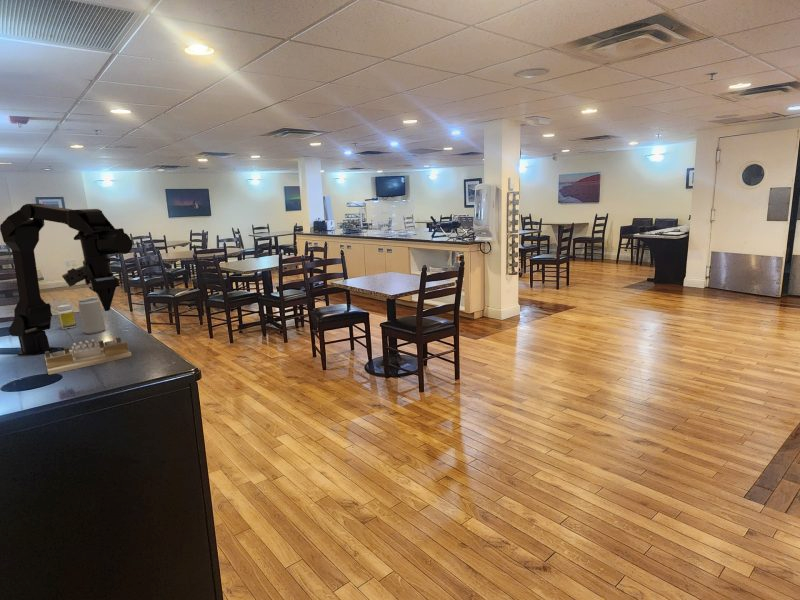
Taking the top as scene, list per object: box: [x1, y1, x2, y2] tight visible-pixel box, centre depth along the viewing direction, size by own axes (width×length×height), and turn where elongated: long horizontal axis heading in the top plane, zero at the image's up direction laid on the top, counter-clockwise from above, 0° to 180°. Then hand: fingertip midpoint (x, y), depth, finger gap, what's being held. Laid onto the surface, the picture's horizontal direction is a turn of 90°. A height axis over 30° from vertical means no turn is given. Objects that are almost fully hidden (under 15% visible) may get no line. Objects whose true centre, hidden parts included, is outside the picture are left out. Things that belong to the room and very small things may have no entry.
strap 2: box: [103, 339, 117, 346], centre depth 138 cm, size 12×3×1 cm, turn 38°
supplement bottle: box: [57, 304, 77, 330], centre depth 175 cm, size 5×5×8 cm
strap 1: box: [50, 350, 64, 357], centre depth 131 cm, size 12×3×1 cm, turn 38°
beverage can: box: [77, 296, 106, 335], centre depth 165 cm, size 6×6×12 cm
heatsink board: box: [43, 336, 132, 376], centre depth 135 cm, size 20×19×4 cm
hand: (107, 310), depth 134 cm, fingers closed
